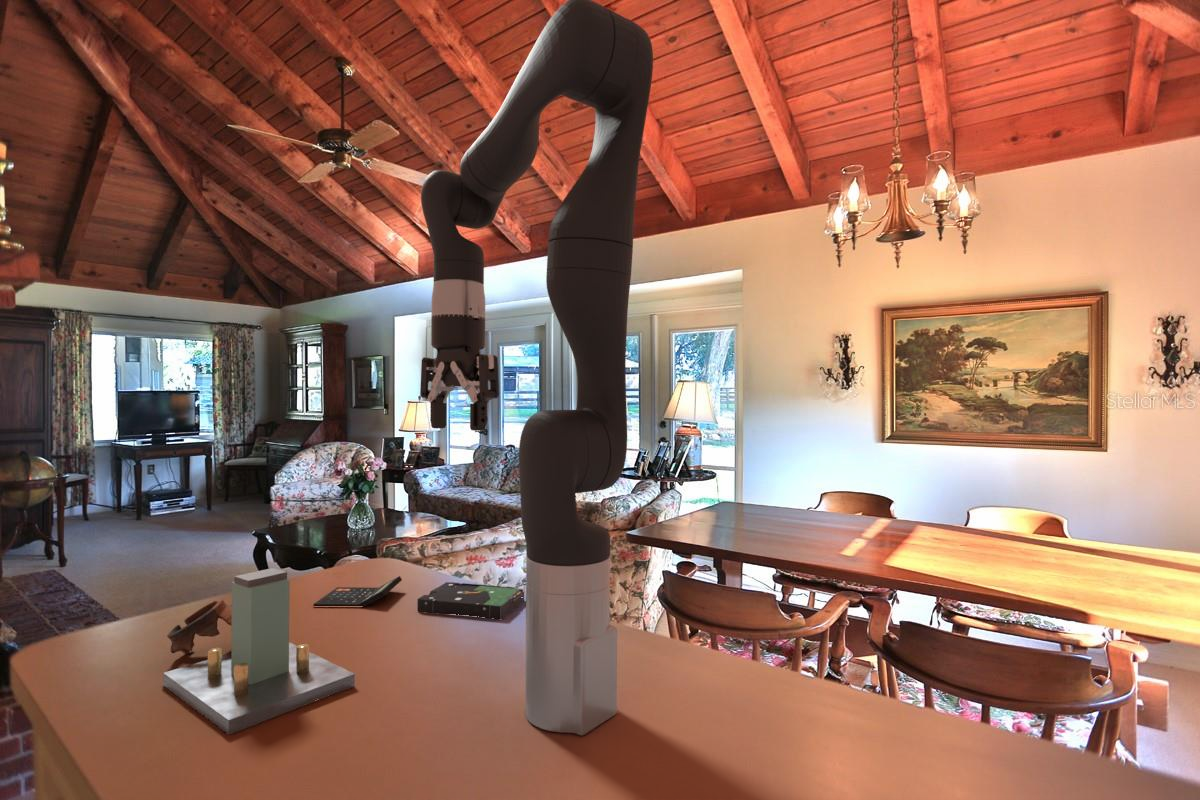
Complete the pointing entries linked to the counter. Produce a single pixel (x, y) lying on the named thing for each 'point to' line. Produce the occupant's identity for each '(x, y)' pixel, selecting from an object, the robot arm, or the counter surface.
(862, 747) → the counter surface
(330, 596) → the calculator
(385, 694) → the counter surface
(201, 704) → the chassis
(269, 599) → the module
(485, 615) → the disk drive
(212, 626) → the pottery mug
